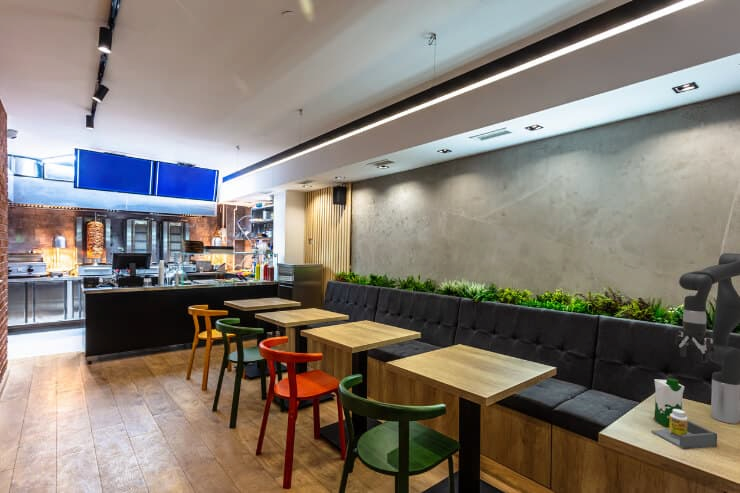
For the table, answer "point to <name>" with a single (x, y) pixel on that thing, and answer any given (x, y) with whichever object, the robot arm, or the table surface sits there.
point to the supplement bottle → (678, 423)
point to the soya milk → (667, 399)
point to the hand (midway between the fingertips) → (693, 359)
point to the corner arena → (690, 437)
